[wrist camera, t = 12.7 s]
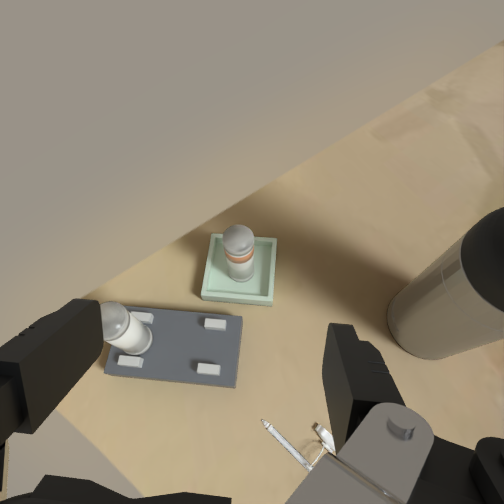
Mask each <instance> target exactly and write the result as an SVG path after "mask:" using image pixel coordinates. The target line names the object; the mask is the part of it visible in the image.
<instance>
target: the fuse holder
mask: <svg viewBox="0 0 504 504" xmlns="http://www.w3.org/2000/svg"><path fill="white" fill-rule="evenodd" d="M124 307H125V308H126V309H127V310H128V311H129V312H130V313H131V314H132V315H133V316H134V317H136V318H137V319H138V320H139V321H140V322H142V323H143V324H144V325H146V326H147V327H148V328H149V329H150V330H151V331H152V333H153V343H152V345H151V347H150V349H149V350H148V351H147V352H145V353H144V354H142V355H139V356H133V355H130V354H128V353H126V352H124V351H123V350H121V349H119V348H117V347H115V346H113V345H111V348H110V352H109V355H108V359H107V363H106V366H105V370H104V373H105V374H108V375H111V376H120V377H130V378H139V379H149V380H159V381H168V382H178V383H188V384H197V385H207V386H217V387H227V388H236V380H237V370H238V361H239V352H240V343H241V334H242V325H243V319H242V316H232V315H221V314H210V313H199V312H188V311H177V310H166V309H155V308H144V307H133V306H124Z"/></svg>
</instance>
